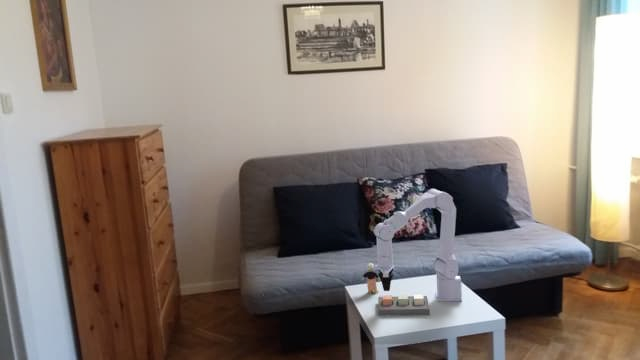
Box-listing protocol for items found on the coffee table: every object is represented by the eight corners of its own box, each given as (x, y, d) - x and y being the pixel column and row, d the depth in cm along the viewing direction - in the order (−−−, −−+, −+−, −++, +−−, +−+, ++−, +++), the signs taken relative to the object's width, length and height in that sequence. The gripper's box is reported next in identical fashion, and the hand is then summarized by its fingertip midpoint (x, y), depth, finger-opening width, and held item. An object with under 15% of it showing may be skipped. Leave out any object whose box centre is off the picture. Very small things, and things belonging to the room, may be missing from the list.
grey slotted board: (427, 301, 200) (426, 295, 200) (429, 315, 188) (429, 308, 188) (378, 302, 203) (378, 296, 202) (378, 315, 191) (378, 309, 190)
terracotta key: (392, 302, 197) (391, 295, 197) (392, 306, 194) (391, 299, 193) (382, 302, 198) (382, 295, 197) (382, 306, 194) (382, 299, 194)
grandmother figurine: (380, 290, 215) (379, 261, 213) (380, 293, 211) (379, 264, 209) (362, 290, 216) (360, 262, 214) (362, 294, 212) (360, 265, 210)
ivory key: (423, 301, 196) (423, 294, 195) (424, 305, 192) (423, 298, 192) (413, 301, 196) (413, 294, 196) (414, 305, 193) (414, 298, 192)
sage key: (407, 301, 197) (407, 295, 196) (408, 305, 193) (407, 298, 193) (398, 302, 197) (397, 295, 197) (398, 305, 194) (398, 299, 193)
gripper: (374, 249, 200) (376, 281, 202) (374, 261, 186) (376, 296, 188) (392, 248, 199) (394, 281, 201) (393, 260, 185) (395, 295, 187)
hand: (386, 288), depth 195 cm, fingers open, 4 cm apart
